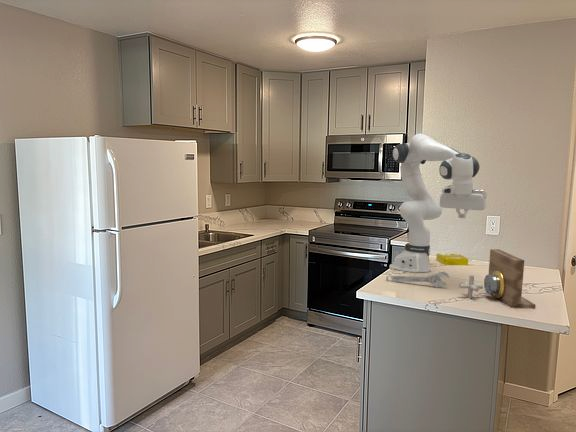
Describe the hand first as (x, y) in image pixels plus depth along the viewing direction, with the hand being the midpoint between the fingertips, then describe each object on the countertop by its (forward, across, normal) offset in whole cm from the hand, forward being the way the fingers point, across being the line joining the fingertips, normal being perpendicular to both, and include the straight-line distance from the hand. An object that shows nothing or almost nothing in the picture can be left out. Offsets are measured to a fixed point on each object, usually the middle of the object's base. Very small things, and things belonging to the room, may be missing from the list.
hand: (461, 217), depth 207 cm
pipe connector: (+31, -9, +19) cm, 38 cm away
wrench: (+32, +17, +14) cm, 39 cm away
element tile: (+44, +19, -51) cm, 70 cm away
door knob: (+31, -17, +14) cm, 38 cm away
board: (+33, -24, +10) cm, 41 cm away
